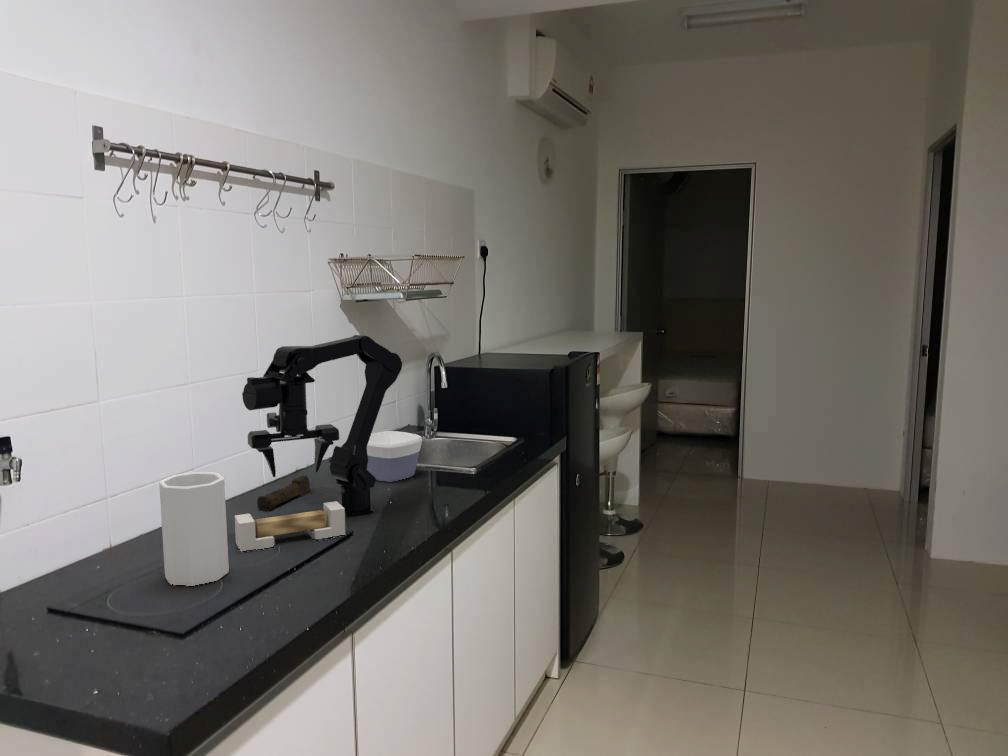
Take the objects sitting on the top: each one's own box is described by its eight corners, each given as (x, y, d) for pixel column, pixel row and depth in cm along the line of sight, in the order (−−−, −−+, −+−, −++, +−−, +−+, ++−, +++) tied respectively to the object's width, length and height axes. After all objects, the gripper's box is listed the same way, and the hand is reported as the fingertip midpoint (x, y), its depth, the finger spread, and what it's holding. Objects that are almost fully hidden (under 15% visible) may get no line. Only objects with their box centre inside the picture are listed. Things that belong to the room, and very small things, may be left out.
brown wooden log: (270, 513, 181) (269, 494, 181) (256, 511, 183) (255, 492, 182) (318, 492, 199) (317, 475, 198) (305, 490, 200) (305, 473, 200)
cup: (190, 592, 136) (184, 491, 133) (151, 579, 142) (145, 481, 139) (241, 571, 145) (237, 476, 143) (203, 560, 151) (198, 468, 149)
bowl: (390, 466, 224) (389, 429, 223) (430, 474, 215) (429, 435, 214) (350, 477, 212) (349, 438, 210) (391, 487, 203) (390, 445, 201)
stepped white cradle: (337, 526, 171) (336, 500, 170) (345, 536, 165) (345, 509, 164) (235, 542, 161) (234, 515, 160) (241, 553, 155) (239, 524, 154)
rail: (322, 532, 168) (321, 509, 167) (325, 536, 165) (325, 513, 164) (255, 542, 161) (254, 519, 160) (258, 547, 158) (257, 523, 158)
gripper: (325, 396, 179) (327, 461, 181) (241, 402, 170) (244, 471, 172) (339, 403, 169) (340, 472, 171) (251, 410, 160) (254, 483, 162)
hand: (295, 474), depth 169 cm, fingers open, 9 cm apart
